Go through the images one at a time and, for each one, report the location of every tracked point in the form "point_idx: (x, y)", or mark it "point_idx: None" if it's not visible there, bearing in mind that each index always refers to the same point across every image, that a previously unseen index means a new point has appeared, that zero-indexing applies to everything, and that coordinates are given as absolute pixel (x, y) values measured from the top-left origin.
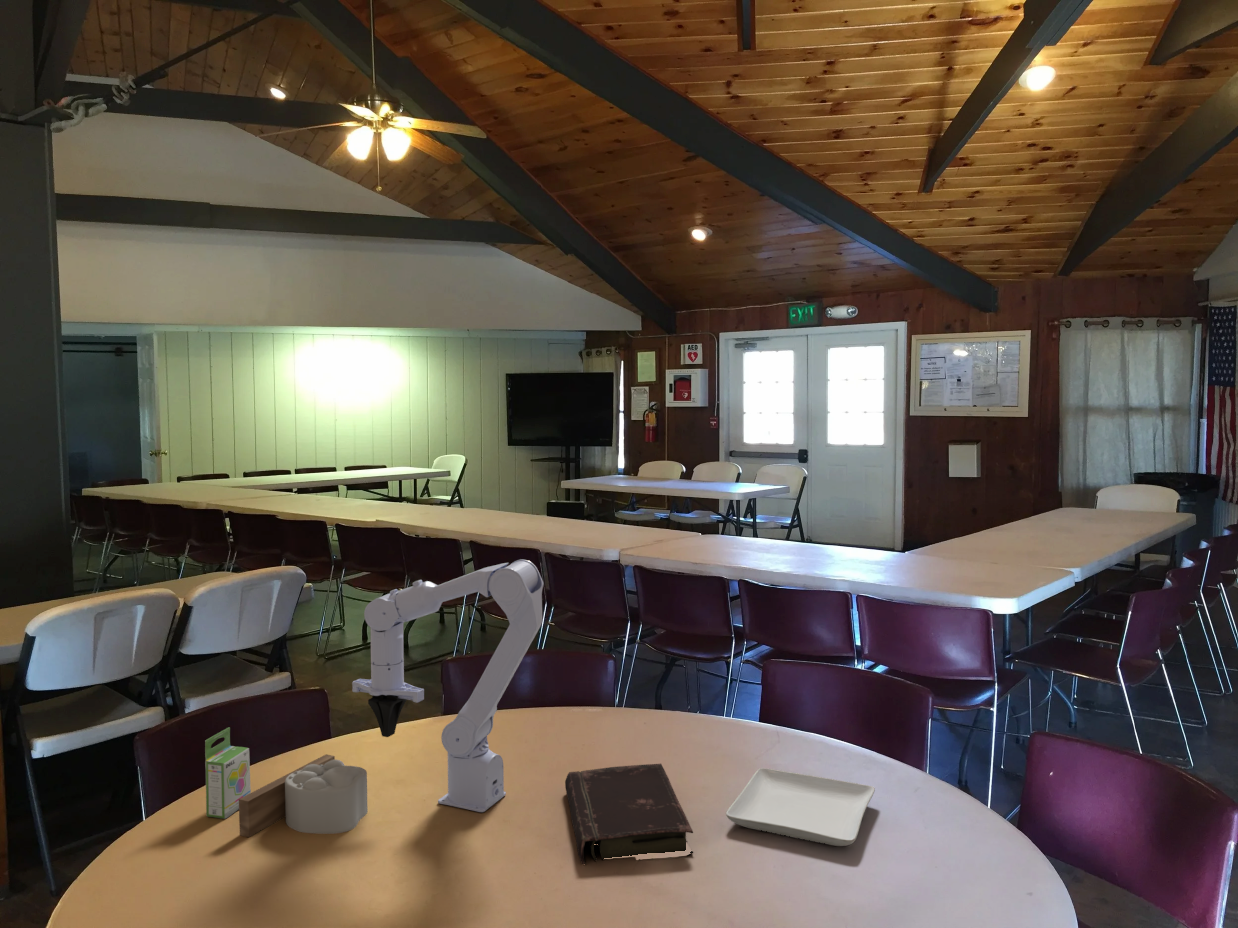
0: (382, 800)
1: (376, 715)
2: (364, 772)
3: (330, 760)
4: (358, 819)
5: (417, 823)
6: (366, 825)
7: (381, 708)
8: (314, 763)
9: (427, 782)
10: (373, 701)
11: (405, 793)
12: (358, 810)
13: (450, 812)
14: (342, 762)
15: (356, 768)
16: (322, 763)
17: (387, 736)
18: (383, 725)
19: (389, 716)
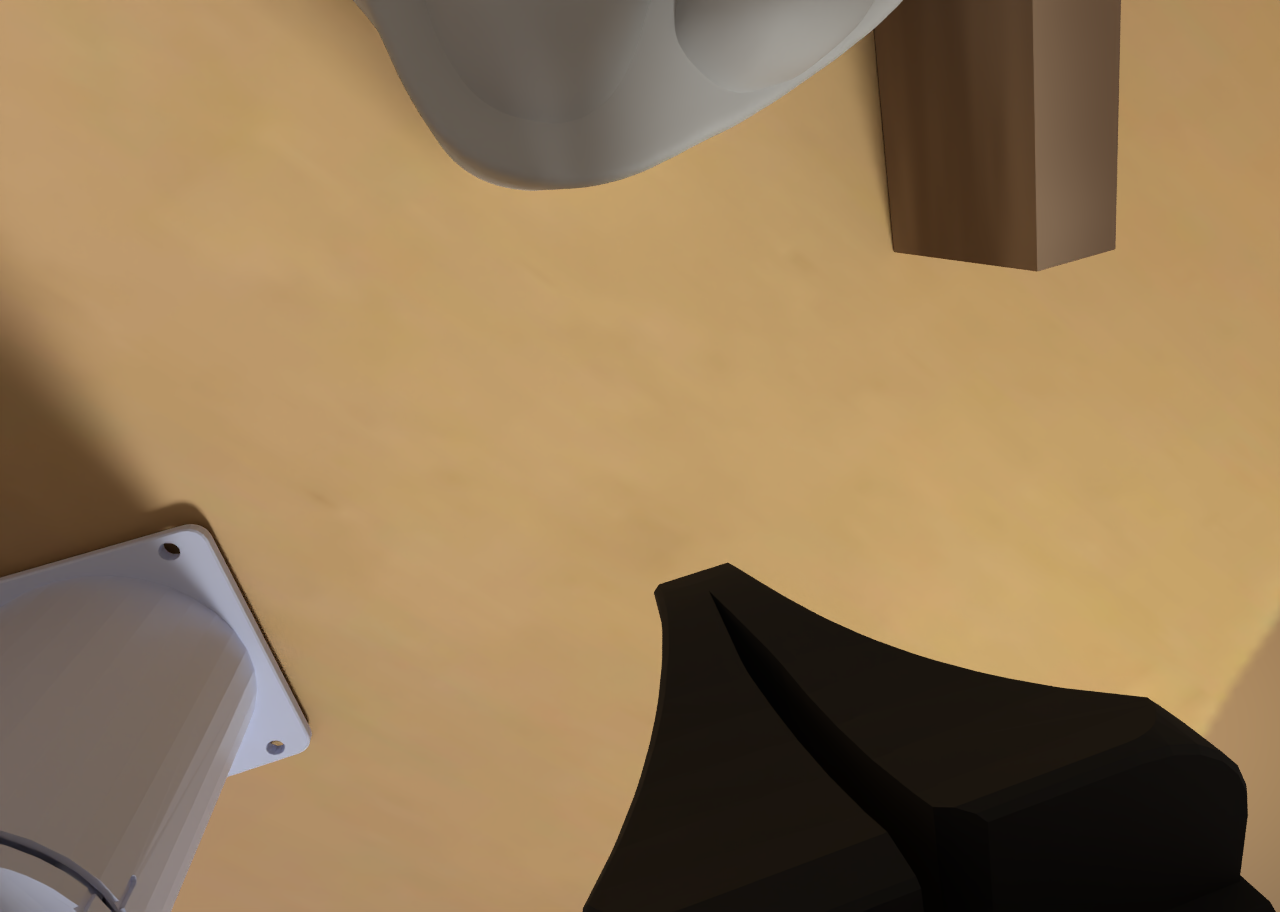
0: (521, 329)
1: (877, 655)
2: (440, 109)
3: (1022, 223)
4: (365, 14)
5: (17, 263)
6: (265, 9)
7: (802, 781)
8: (1074, 63)
9: (516, 633)
10: (1064, 799)
11: (493, 475)
12: (359, 1)
13: (18, 502)
14: (739, 38)
15: (493, 34)
16: (1026, 124)
17: (660, 588)
18: (723, 627)
19: (648, 761)
